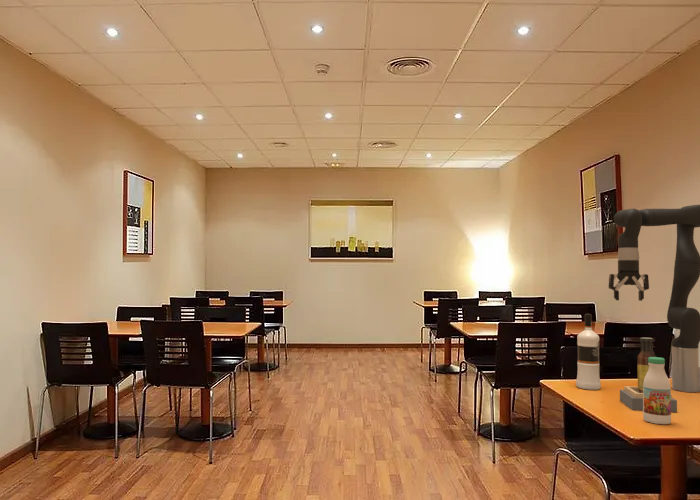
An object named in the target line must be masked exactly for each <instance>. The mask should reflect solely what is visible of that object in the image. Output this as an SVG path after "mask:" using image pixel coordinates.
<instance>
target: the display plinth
mask: <svg viewBox="0 0 700 500" xmlns="http://www.w3.org/2000/svg"><path fill="white" fill-rule="evenodd" d="M619 401H620V402H621V403H623V404H624V405H625V406H626V407H628V408H629V409H631V411H642V412H643V393H639V389H638V386H632V385H630V386H629V385H628V386H626V385H624V386H623V389H619ZM671 413H678V400H677V399H676V398H673V395H672V394H671Z"/></svg>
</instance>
